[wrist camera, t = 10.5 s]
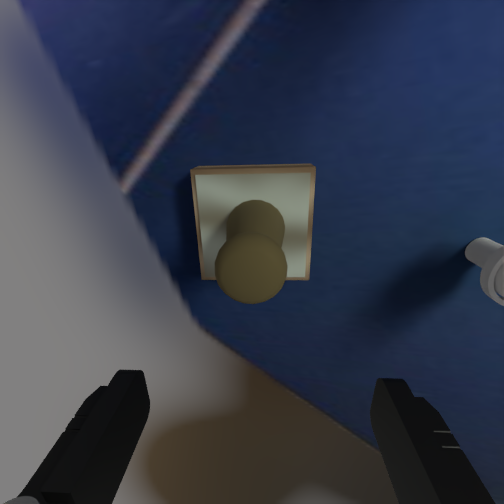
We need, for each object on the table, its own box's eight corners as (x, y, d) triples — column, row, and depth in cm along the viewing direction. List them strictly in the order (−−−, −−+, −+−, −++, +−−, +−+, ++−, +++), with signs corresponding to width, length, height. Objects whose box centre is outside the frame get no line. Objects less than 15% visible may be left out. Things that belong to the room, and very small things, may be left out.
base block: (198, 165, 30) (189, 169, 27) (310, 163, 30) (316, 167, 26) (208, 265, 35) (201, 281, 31) (304, 265, 34) (309, 281, 30)
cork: (230, 258, 30) (212, 320, 20) (221, 203, 28) (195, 241, 17) (287, 253, 29) (298, 314, 19) (282, 196, 27) (292, 231, 17)
